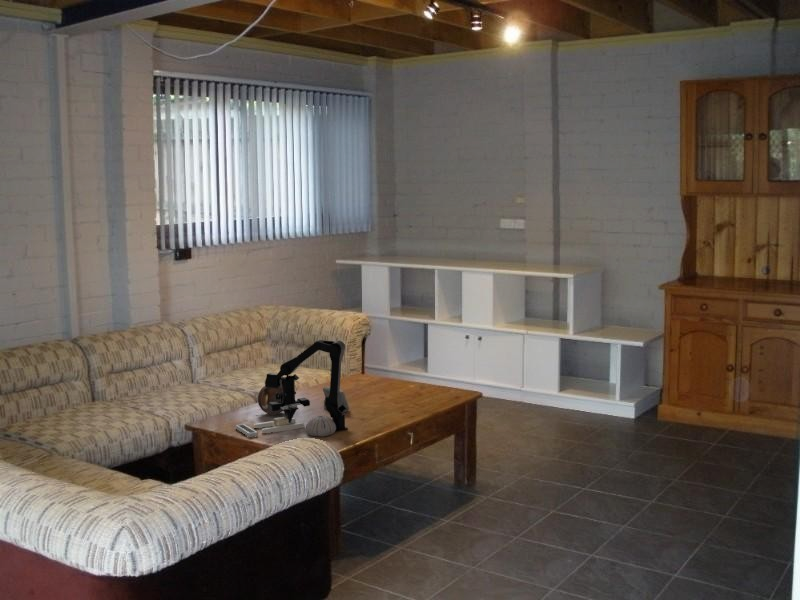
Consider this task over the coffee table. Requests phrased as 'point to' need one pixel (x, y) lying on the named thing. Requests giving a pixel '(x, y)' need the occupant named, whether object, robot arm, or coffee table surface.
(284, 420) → the birch block
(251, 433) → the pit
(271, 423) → the channel
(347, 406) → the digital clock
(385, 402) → the coffee table surface
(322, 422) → the sea urchin shell
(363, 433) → the coffee table surface
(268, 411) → the wooden sphere
